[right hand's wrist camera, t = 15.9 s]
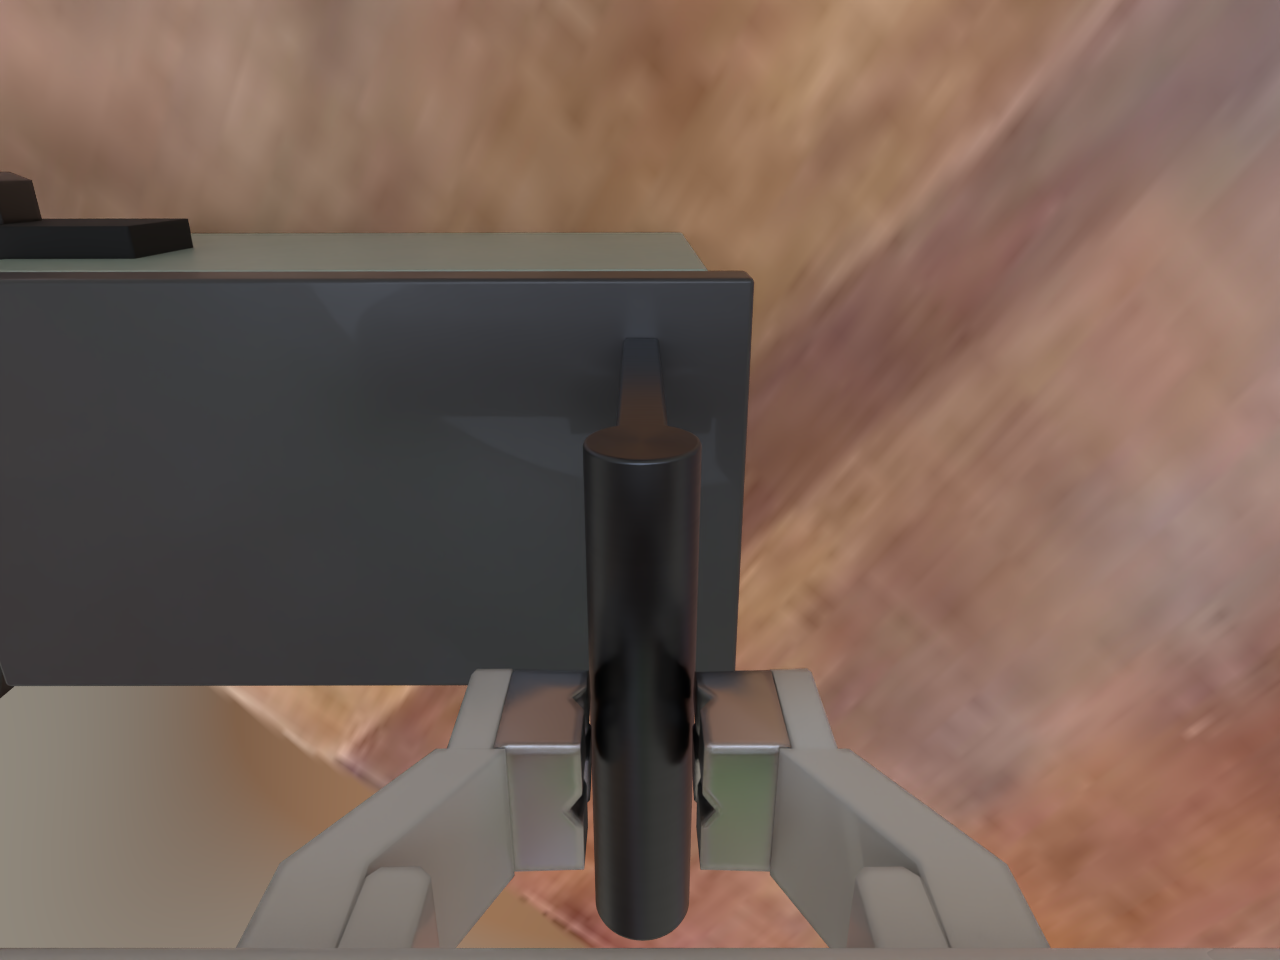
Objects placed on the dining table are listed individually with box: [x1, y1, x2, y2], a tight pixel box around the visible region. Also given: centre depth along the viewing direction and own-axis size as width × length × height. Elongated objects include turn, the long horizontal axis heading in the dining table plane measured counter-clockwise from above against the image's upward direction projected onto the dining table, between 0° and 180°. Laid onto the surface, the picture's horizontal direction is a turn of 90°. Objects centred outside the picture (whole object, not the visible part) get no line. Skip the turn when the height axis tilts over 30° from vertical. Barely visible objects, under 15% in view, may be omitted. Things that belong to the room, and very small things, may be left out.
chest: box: [0, 232, 708, 272], centre depth 23 cm, size 16×9×10 cm, turn 90°
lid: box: [0, 271, 754, 941], centre depth 14 cm, size 17×9×9 cm, turn 90°
